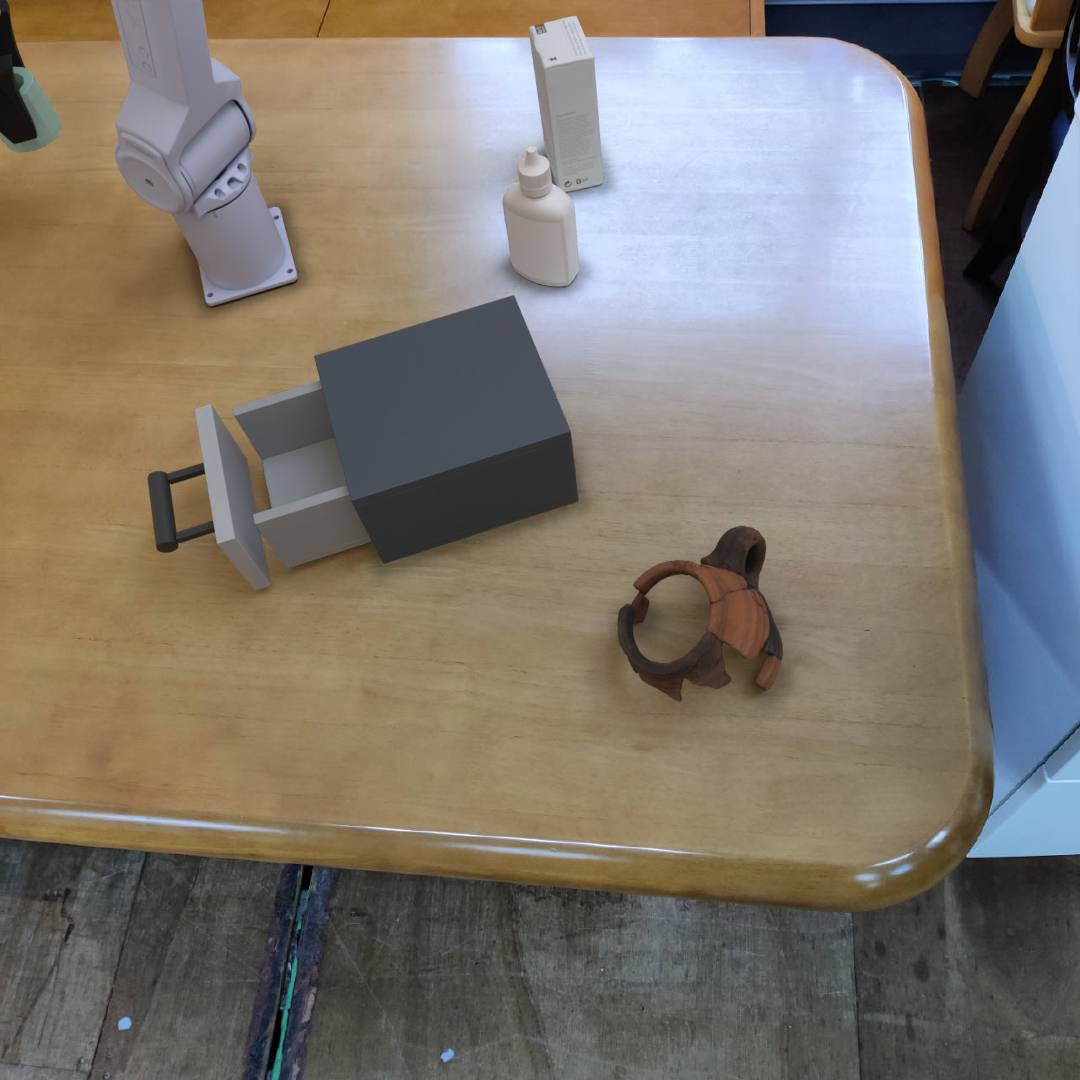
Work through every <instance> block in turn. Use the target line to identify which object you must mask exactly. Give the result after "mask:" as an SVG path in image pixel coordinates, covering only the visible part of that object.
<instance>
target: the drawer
mask: <svg viewBox="0 0 1080 1080" xmlns="http://www.w3.org/2000/svg"><path fill="white" fill-rule="evenodd" d="M232 413H233V417H234V419H235V420H236V422H237V423H238V425H239V427H240V428H241V429H242V431H243V433H244V435H245V436H246V437H247V439H248V441H249V442H250V444H251V445H252V447H253V449H254V450H255V452H256V453H257V455H258V457H259V458H260V460H261V463H262V468H263V473H264V477H265V483H266V488H267V493H268V498H269V503H270V508H269V509H266V510H263V511H260V512H258V510H257V505H256V499H255V495H254V490H253V486H252V480H251V473H250V469H249V464H248V459H247V457H246V455H245V454H244V452H243V450H242V449H241V448H240V446H239V444H238V443H237V441H236V440H235V438H234V437H233V435H232V434H231V432H230V431H229V429H228V427H227V426H226V425H225V423H224V421H223V420H222V418H221V416H220V415H219V413H218V412H217V410H216V409H215V408H214V406H213V404H212V403H208V404H205V405H203V406H200V407H199V406H198V407H195V408H194V414H195V421H196V427H197V432H198V437H199V438H198V439H199V444H200V445H199V446H200V450H201V451H200V452H201V456H202V462H200V463H196V464H194V465H190V466H188V467H184V468H181V469H178V470H175V471H172V472H171V471H170V472H168V473H167V472H165V471H163V470H154V471H151V472H150V473H149V474H148V475H147V478H146V479H147V485H148V486H147V487H148V494H149V495H148V496H149V502H150V509H151V517H152V524H153V525H152V526H153V533H154V534H153V535H154V541H155V542H154V543H155V548H156V550H157V552H159V553H162V554H169V553H173V552H175V551H177V550H178V548H179V546H180V545H179V544H182V543H185V542H188V541H192V540H196V539H198V538H201V537H202V538H203V537H205V536H207V535H212V534H214V536H215V540H216V545H217V546H218V548H220V550H221V551H222V552H223V553H224V554H225V556H226V557H227V558H228V559H229V561H230V562H231V563H232V564H233V566H234V567H235V568H236V569H237V570H238V572H239V573H240V574H241V575H242V577H243V579H245V580H246V582H247V583H248V584H249V586H251V588H252V589H253V590H254V591H258V590H262V589H264V588H267V587H270V586H272V583H271V577H270V572H269V571H270V570H269V567H268V561H267V556H266V550H265V545H264V541H263V538H264V539H265V541H266V543H267V544H268V545H269V547H270V548H271V549H272V551H273V552H274V554H275V555H276V556H277V558H278V560H279V561H280V563H282V564H283V566H284V568H285V569H290V568H293V567H296V566H300V565H303V564H306V563H310V562H312V561H316V560H318V559H322V558H324V557H327V556H328V557H329V556H331V555H334V554H338V553H340V552H344V551H346V550H349V549H352V548H356V547H359V546H363V545H365V544H369V543H372V541H371V539H370V537H369V535H368V533H367V531H366V529H365V527H364V525H363V523H362V521H361V520H360V518H359V516H358V514H357V512H356V510H355V508H354V506H353V504H352V502H351V499H350V495H349V491H348V488H347V484H346V480H345V476H344V472H343V468H342V464H341V460H340V456H339V452H338V448H337V445H336V441H335V437H334V433H333V429H332V425H331V421H330V417H329V413H328V409H327V406H326V402H325V398H324V394H323V390H322V386H321V382H320V380H317V381H313V382H310V383H307V384H304V385H299V386H298V387H294V388H291V389H288V390H284V391H281V392H278V393H275V394H271V395H268V396H265V397H262V398H259V399H255V400H251V401H248V402H245V403H242V404H238V405H236V406H233V407H232ZM203 475H205V480H206V486H207V493H208V498H209V499H208V500H209V504H210V511H211V517H212V520H211V521H207V522H204V523H201V524H198V525H194V526H192V527H188V528H186V529H182V530H179V531H178V530H177V524H176V523H177V522H176V518H175V517H176V516H175V510H174V503H173V496H172V490H171V489H172V487H171V485H174V484H177V483H181V482H184V481H188V480H190V479H191V480H192V479H194V478H197V477H200V476H203Z"/></svg>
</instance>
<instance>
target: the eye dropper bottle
mask: <svg viewBox="0 0 1080 1080" xmlns="http://www.w3.org/2000/svg"><path fill="white" fill-rule="evenodd" d="M517 175H518V180H517V181H514V182H513V183H511V185H509V186H508V188H507V189H506V191H505V192H504V194H503V197H502V209H503V217H504V222H505V230H506V235H507V236H506V237H507V243H508V248H509V254H510V255H509V256H510V260H511V265H512V268H513V269H514V271H515V272H516V273H517V274H518V275H520V276H521V277H523V278H524V279H526V280H528V281H530V282H533V283H535V284H538V285H542V286H546V287H568V286H570V284H571V283H572V282H573V281H574V280H575V278H576V276H577V275H578V274H579V271H580V268H581V267H580V255H579V241H578V231H577V230H578V229H577V218H576V207H575V203H574V201H573V199H572V197H570V195H569V194H568V193H567V192H564V191H563V190H562V189H560V188H559V187H557V185H556V184H554V183H553V180H552V170H551V167H550V163H549V160H548V157H547V156H544V155H541V154H539V152H538V149H537V147H536V146H535V145H531V146H528V147H527V148H526V155H525V156H524V157H523V158H522V159H520V160H519V162H518V163H517Z"/></svg>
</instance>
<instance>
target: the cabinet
mask: <svg viewBox="0 0 1080 1080" xmlns="http://www.w3.org/2000/svg"><path fill="white" fill-rule="evenodd" d="M313 358H314V363H315V365H316V371H317V373H318V377H319V381H320V382H321V386H322V390H323V394H324V398H325V402H326V406H327V409H328V413H329V417H330V421H331V425H332V429H333V433H334V437H335V441H336V445H337V448H338V452H339V456H340V460H341V464H342V468H343V472H344V476H345V480H346V484H347V488H348V491H349V495H350V499H351V502H352V504H353V506H354V508H355V510H356V512H357V514H358V516H359V518H360V520H361V521H362V523H363V525H364V527H365V529H366V531H367V533H368V535H369V537H370V539H371V541H372V542H371V543H372V545H373V547H374V549H375V551H376V552H377V555H378V556H379V558H380V561H381V562H382V564H388V563H391V562H394V561H396V560H397V561H398V560H399V559H403V558H406V557H409V556H412V555H414V554H418V553H421V552H424V551H428V550H430V549H433V548H437V547H440V546H443V545H445V544H449V543H453V542H455V541H459V540H462V539H465V538H468V537H471V536H473V535H474V536H475V535H477V534H479V533H484V532H487V531H490V530H493V529H495V528H498V527H501V526H505V525H508V524H512V523H513V522H518V521H520V520H524V519H527V518H529V517H533V516H536V515H539V514H542V513H546V512H548V511H551V510H555V509H557V508H561V507H563V506H566V505H567V506H568V505H570V504H573V503H576V502H579V493H578V492H579V491H578V482H577V475H576V465H575V457H574V447H573V440H572V439H573V438H572V430H571V428H570V425H569V423H568V421H567V419H566V416H565V414H564V411H563V408H562V406H561V404H560V401H559V399H558V396H557V394H556V392H555V389H554V387H553V385H552V382H551V380H550V378H549V376H548V375H549V374H548V373H547V371H546V368H545V365H544V363H543V361H542V358H541V356H540V354H539V351H538V348H537V346H536V344H535V342H534V339H533V336H532V334H531V332H530V330H529V327H528V324H527V323H526V320H525V317H524V314H523V313H522V311H521V308H520V306H519V304H518V300H517V298H516V296H515V295H514V294H512V295H509V296H505V297H501V298H499V299H496V300H492V301H489V302H486V303H483V304H479V305H475V306H473V307H469V308H466V309H463V310H460V311H456V312H453V313H450V314H445V315H444V316H439V317H437V318H434V319H430V320H427V321H424V322H420V323H417V324H414V325H410V326H407V327H403V328H401V329H398V330H395V331H391V332H388V333H384V334H381V335H377V336H375V337H371V338H368V339H365V340H362V341H358V342H355V343H352V344H349V345H345V346H342V347H338V348H336V349H332V350H328V351H326V352H322V353H320V354H316V355H313Z"/></svg>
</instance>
